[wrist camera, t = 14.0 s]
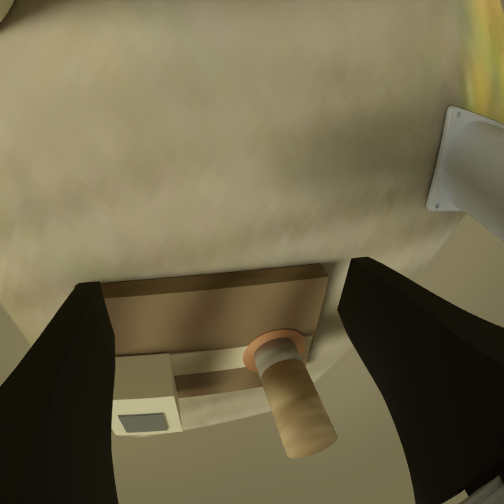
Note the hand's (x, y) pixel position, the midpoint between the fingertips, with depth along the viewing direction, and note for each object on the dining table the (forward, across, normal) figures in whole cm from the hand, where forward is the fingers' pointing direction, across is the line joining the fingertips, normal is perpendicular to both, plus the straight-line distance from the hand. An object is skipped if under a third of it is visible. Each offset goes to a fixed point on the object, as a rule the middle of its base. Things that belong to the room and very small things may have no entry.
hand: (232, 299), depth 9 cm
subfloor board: (+9, 0, +12) cm, 15 cm away
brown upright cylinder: (+8, -5, +12) cm, 16 cm away
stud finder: (+8, +5, +14) cm, 16 cm away
